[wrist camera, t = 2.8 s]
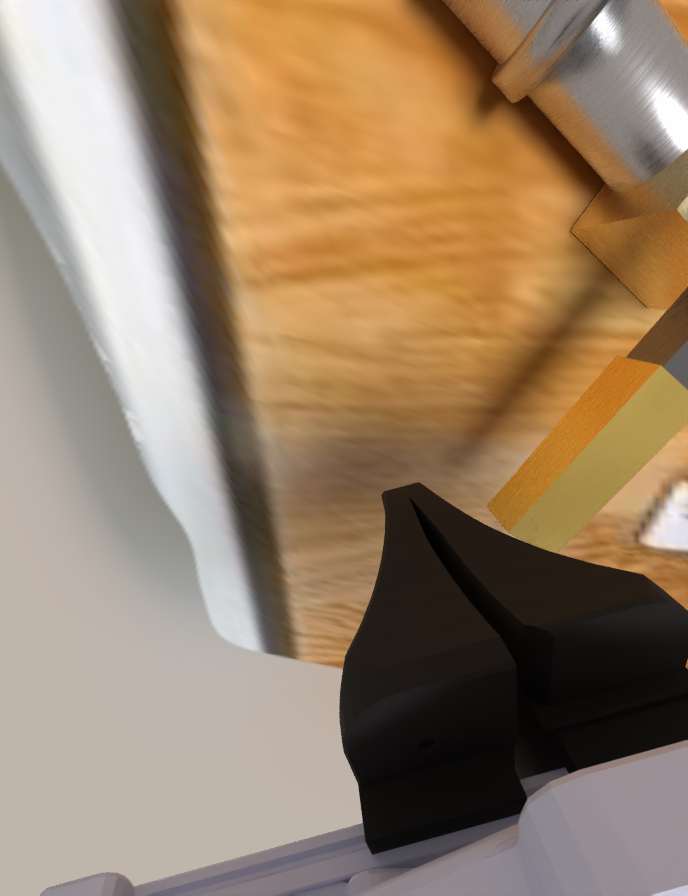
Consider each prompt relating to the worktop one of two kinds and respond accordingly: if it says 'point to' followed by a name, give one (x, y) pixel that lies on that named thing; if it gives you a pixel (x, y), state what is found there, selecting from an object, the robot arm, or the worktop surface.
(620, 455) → the lever
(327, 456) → the worktop surface
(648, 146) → the valve body
